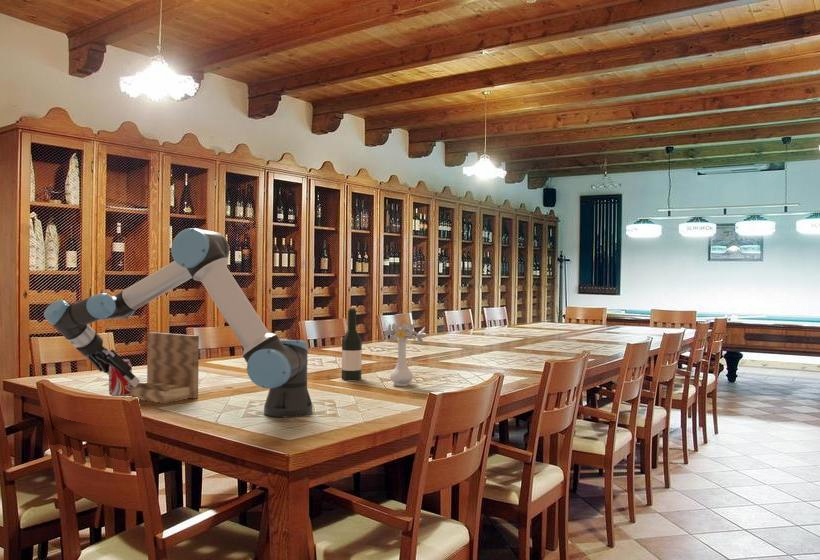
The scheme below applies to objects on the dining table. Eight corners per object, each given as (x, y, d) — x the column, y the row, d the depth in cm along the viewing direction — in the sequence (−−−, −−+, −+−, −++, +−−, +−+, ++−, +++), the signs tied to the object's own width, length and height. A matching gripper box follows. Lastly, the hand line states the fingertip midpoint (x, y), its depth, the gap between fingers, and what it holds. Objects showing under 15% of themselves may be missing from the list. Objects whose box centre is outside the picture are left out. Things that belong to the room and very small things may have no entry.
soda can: (122, 397, 211) (122, 361, 211) (104, 397, 213) (104, 361, 213) (136, 394, 218) (136, 359, 218) (117, 393, 220) (117, 358, 220)
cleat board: (198, 398, 224) (198, 335, 224) (169, 404, 213) (169, 338, 213) (151, 391, 236) (152, 332, 235) (122, 397, 225) (122, 334, 225)
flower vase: (430, 385, 257) (431, 323, 257) (392, 389, 246) (393, 324, 246) (411, 380, 267) (412, 321, 267) (374, 384, 257) (375, 322, 257)
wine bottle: (365, 378, 271) (366, 308, 271) (353, 381, 264) (354, 309, 264) (349, 377, 275) (350, 307, 275) (337, 379, 268) (338, 308, 268)
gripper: (58, 347, 207) (103, 389, 221) (97, 350, 197) (142, 394, 212) (74, 329, 212) (117, 372, 226) (113, 332, 202) (155, 376, 216)
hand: (129, 383), depth 219 cm, fingers closed on soda can, 7 cm apart
